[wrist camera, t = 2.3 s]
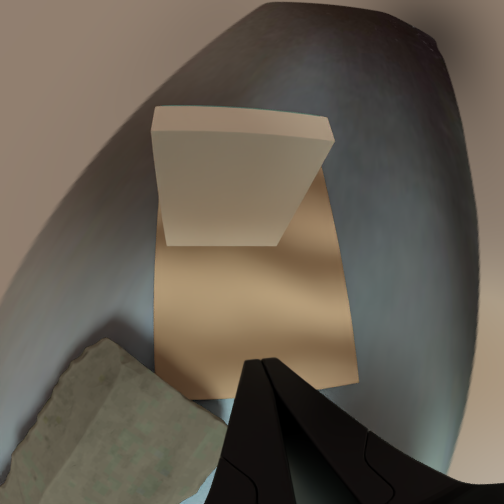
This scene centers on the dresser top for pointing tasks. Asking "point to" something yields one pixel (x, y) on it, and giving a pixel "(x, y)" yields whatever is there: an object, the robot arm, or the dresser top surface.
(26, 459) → the stone slab
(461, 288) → the dresser top surface
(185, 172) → the glazed tile
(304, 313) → the tan wooden board
